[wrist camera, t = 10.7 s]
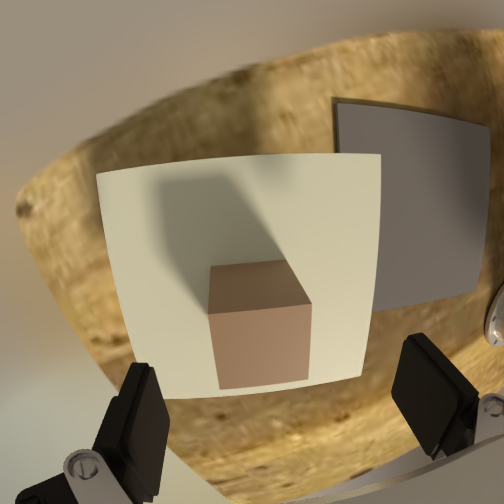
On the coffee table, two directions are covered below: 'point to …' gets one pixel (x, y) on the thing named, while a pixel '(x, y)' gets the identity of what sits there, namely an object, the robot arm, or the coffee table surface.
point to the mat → (423, 200)
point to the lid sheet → (238, 230)
